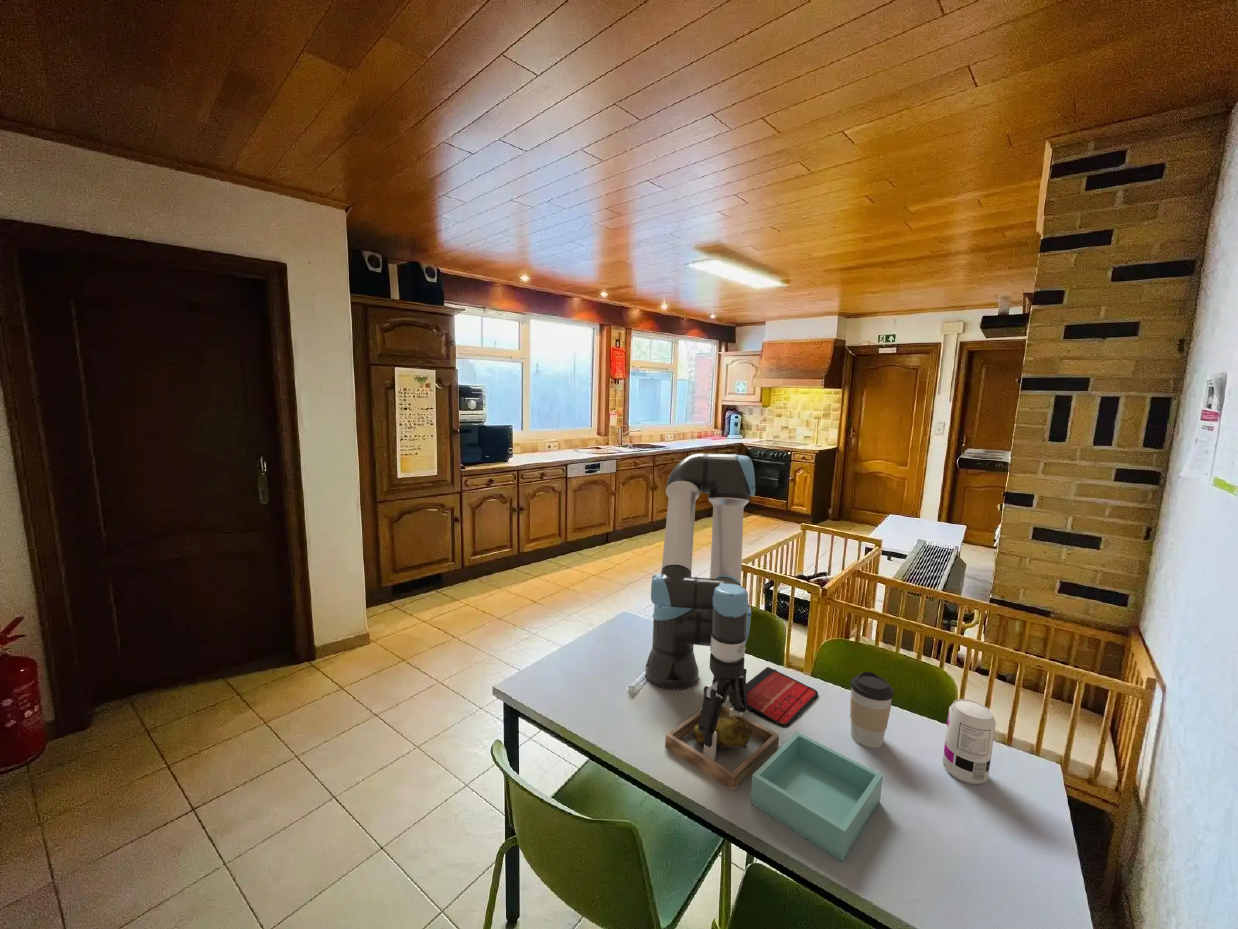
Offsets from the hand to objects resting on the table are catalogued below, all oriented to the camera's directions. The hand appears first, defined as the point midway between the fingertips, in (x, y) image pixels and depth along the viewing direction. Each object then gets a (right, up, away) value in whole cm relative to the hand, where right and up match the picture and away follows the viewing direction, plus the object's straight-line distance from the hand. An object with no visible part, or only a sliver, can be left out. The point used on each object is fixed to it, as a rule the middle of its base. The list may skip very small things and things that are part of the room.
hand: (722, 746), depth 117 cm
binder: (+18, +1, +20) cm, 27 cm away
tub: (+16, -3, -15) cm, 22 cm away
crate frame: (0, 0, 0) cm, 0 cm away
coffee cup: (+35, -1, +5) cm, 36 cm away
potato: (0, 0, 0) cm, 0 cm away
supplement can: (+52, -3, -6) cm, 52 cm away
